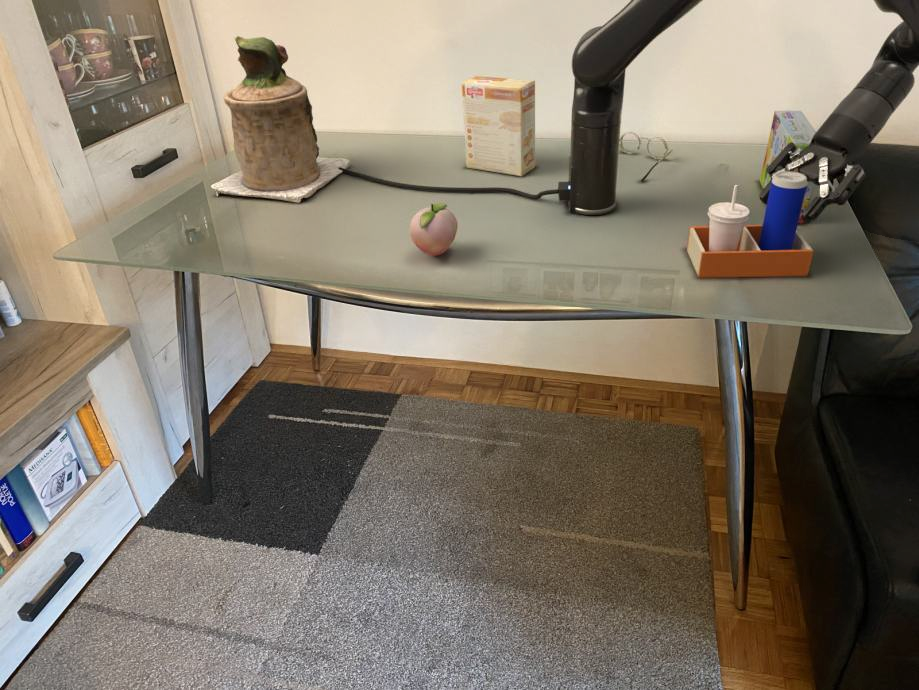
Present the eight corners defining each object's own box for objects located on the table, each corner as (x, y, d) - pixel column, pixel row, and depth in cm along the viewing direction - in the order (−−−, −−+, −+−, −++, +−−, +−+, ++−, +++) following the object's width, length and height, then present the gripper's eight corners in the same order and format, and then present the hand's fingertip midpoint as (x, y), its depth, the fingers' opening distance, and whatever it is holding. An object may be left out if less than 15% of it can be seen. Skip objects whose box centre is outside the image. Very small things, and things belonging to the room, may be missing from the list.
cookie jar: (304, 205, 149) (272, 47, 131) (209, 197, 156) (167, 47, 138) (353, 165, 168) (332, 23, 150) (267, 159, 175) (236, 23, 157)
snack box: (807, 224, 127) (827, 144, 118) (774, 223, 128) (792, 143, 119) (786, 181, 144) (802, 108, 135) (757, 181, 145) (772, 108, 136)
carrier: (698, 277, 113) (702, 253, 111) (686, 249, 122) (689, 226, 119) (807, 276, 112) (813, 251, 109) (787, 247, 120) (792, 223, 117)
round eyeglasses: (677, 162, 157) (679, 140, 154) (644, 183, 148) (646, 160, 145) (612, 149, 167) (613, 128, 164) (577, 168, 157) (578, 146, 155)
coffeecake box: (536, 167, 160) (536, 79, 149) (521, 177, 155) (520, 88, 144) (480, 158, 167) (477, 74, 156) (465, 168, 162) (460, 82, 151)
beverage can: (789, 257, 117) (809, 172, 109) (787, 270, 113) (808, 184, 105) (756, 252, 119) (774, 169, 111) (753, 266, 115) (771, 180, 107)
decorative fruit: (422, 242, 130) (417, 192, 125) (463, 245, 128) (460, 194, 123) (405, 265, 123) (399, 213, 117) (448, 269, 121) (444, 216, 115)
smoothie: (719, 275, 113) (734, 195, 105) (692, 260, 118) (703, 182, 110) (748, 265, 116) (764, 185, 108) (720, 250, 120) (733, 173, 113)
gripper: (806, 102, 111) (740, 185, 114) (886, 123, 101) (811, 214, 103) (822, 129, 116) (758, 207, 119) (899, 152, 105) (827, 238, 108)
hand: (783, 210), depth 111 cm, fingers open, 8 cm apart
